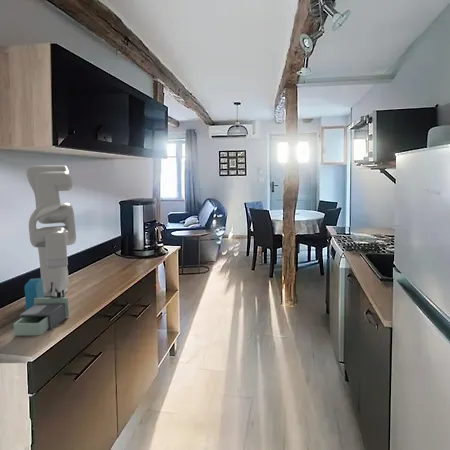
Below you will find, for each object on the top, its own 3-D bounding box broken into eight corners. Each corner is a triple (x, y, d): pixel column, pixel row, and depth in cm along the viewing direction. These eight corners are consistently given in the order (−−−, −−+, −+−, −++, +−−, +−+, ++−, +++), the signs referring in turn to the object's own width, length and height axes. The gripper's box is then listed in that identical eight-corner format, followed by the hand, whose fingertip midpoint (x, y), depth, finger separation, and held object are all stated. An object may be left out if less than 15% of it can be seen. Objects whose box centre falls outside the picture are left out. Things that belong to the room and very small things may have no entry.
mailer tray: (36, 316, 153) (35, 297, 152) (69, 315, 152) (68, 297, 151) (8, 336, 134) (6, 315, 133) (46, 335, 134) (44, 314, 133)
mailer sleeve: (38, 318, 152) (36, 303, 151) (65, 318, 152) (64, 303, 151) (21, 330, 140) (19, 314, 139) (51, 330, 140) (50, 314, 139)
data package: (33, 304, 168) (31, 277, 167) (44, 303, 169) (42, 277, 168) (26, 314, 157) (23, 285, 155) (38, 313, 158) (36, 284, 156)
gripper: (56, 257, 160) (59, 300, 162) (38, 267, 145) (42, 314, 148) (74, 257, 159) (77, 300, 162) (58, 267, 145) (62, 314, 148)
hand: (60, 306), depth 155 cm, fingers closed
